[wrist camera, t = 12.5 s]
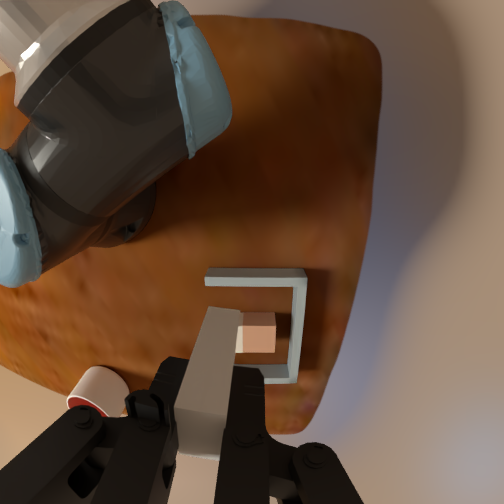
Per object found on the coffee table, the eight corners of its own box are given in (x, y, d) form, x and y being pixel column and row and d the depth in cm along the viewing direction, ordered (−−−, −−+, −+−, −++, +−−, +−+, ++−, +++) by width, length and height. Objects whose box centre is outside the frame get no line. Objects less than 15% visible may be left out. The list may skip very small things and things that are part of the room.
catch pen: (216, 368, 44) (213, 382, 40) (208, 267, 39) (204, 276, 35) (294, 369, 43) (296, 382, 40) (303, 268, 38) (307, 277, 35)
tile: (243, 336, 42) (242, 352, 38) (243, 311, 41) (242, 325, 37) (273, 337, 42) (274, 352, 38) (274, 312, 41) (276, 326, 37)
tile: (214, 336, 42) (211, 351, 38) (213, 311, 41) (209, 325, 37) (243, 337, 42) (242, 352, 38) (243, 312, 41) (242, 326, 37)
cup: (98, 354, 44) (74, 387, 34) (139, 387, 46) (122, 423, 36) (82, 377, 46) (61, 407, 36) (119, 405, 48) (103, 438, 38)
